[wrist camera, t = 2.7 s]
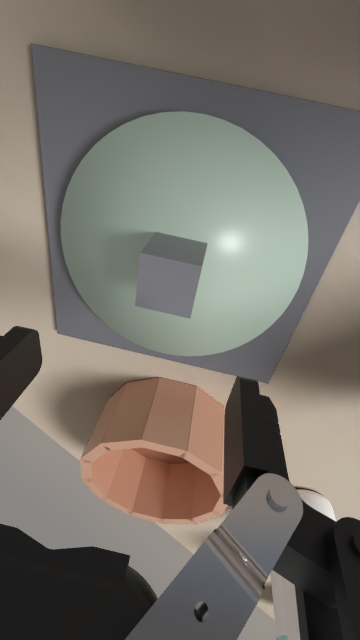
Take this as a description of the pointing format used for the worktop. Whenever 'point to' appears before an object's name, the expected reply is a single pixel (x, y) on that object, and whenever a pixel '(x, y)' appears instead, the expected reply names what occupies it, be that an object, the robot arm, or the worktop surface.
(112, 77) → the mat
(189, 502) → the bowl
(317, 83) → the worktop surface
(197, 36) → the worktop surface
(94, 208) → the lid
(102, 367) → the worktop surface
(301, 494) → the water bottle
